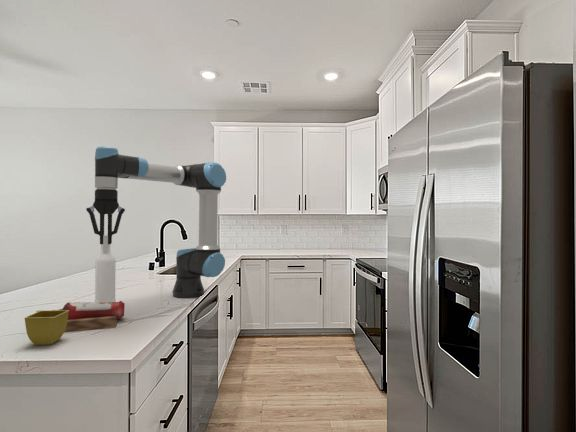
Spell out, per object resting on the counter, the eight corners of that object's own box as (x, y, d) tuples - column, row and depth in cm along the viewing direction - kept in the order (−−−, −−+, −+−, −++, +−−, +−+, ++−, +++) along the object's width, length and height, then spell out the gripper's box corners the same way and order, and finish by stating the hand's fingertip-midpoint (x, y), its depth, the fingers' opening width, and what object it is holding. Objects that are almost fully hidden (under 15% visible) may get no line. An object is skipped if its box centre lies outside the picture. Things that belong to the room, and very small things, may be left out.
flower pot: (40, 338, 117) (41, 310, 117) (69, 337, 118) (69, 309, 118) (23, 347, 108) (23, 317, 108) (54, 347, 109) (54, 317, 109)
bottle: (106, 309, 152) (107, 237, 152) (90, 308, 153) (91, 237, 153) (119, 305, 160) (120, 236, 160) (103, 304, 161) (104, 236, 161)
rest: (118, 316, 142) (118, 307, 142) (115, 327, 128) (115, 317, 128) (43, 322, 133) (43, 313, 133) (31, 335, 119) (31, 324, 119)
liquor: (124, 315, 142) (39, 320, 131) (124, 297, 141) (39, 301, 130) (123, 322, 135) (33, 328, 124) (124, 303, 134) (33, 308, 124)
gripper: (126, 190, 140) (125, 251, 140) (87, 189, 135) (87, 252, 135) (125, 189, 133) (124, 253, 133) (84, 187, 128) (84, 254, 128)
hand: (105, 253), depth 134 cm, fingers closed
